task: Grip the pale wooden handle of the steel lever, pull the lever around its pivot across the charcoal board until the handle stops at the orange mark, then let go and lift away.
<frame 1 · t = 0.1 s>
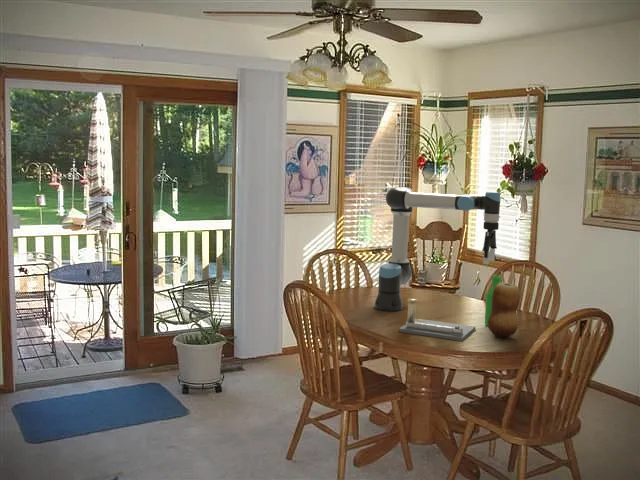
hand: (488, 262, 355), 28 cm above the table, tool pointing down, fingers open, 13 cm apart
lever board: (437, 330, 322), on the table
butternut squash: (502, 337, 314), on the table
lever: (434, 316, 315), point 8 cm above the table, hinge at 0.0°
bottle: (493, 326, 336), on the table
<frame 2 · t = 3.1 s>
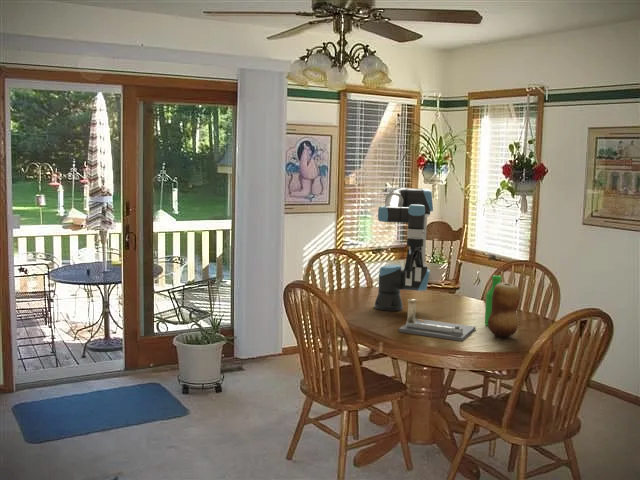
hand: (413, 283, 318), 22 cm above the table, tool pointing down, fingers open, 13 cm apart
nothing on the table moved.
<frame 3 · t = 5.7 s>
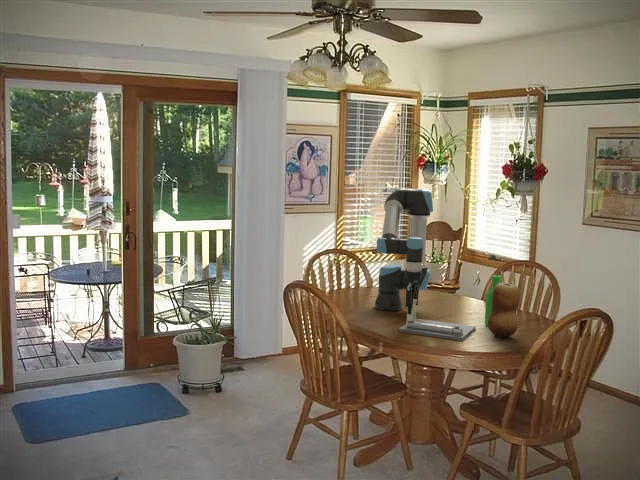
hand: (411, 319, 320), 5 cm above the table, tool pointing down, fingers closed on lever, 4 cm apart
lever: (434, 316, 315), point 8 cm above the table, hinge at 0.0°, touching gripper
everything else where it was.
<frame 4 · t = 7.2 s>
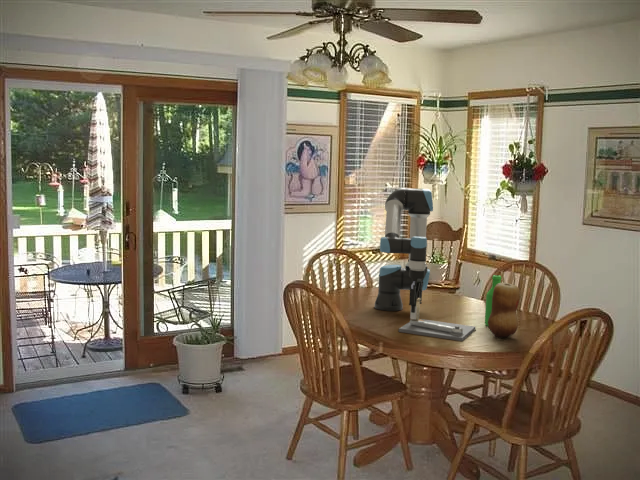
hand: (414, 318, 324), 5 cm above the table, tool pointing down, fingers closed on lever, 4 cm apart
lever: (436, 315, 317), point 8 cm above the table, hinge at 11.6°, touching gripper
everything else where it was.
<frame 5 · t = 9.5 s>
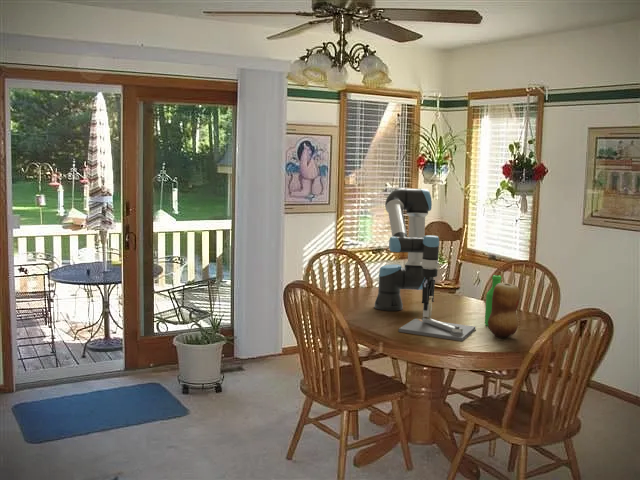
hand: (427, 315, 330), 5 cm above the table, tool pointing down, fingers closed on lever, 4 cm apart
lever: (442, 314, 320), point 8 cm above the table, hinge at 34.6°, touching gripper
everything else where it was.
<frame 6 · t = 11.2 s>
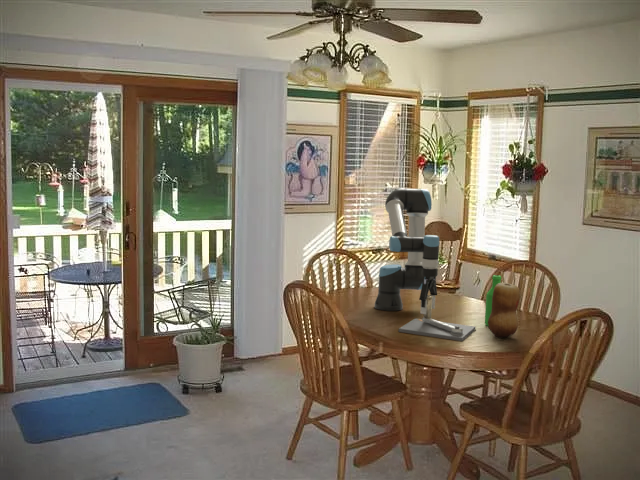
hand: (427, 311, 330), 7 cm above the table, tool pointing down, fingers open, 13 cm apart
lever: (442, 314, 320), point 8 cm above the table, hinge at 34.9°
everything else where it was.
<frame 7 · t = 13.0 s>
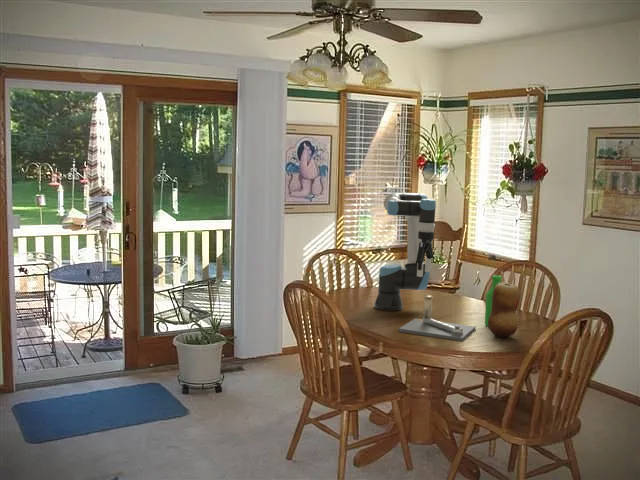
hand: (423, 274, 333), 24 cm above the table, tool pointing down, fingers open, 13 cm apart
nothing on the table moved.
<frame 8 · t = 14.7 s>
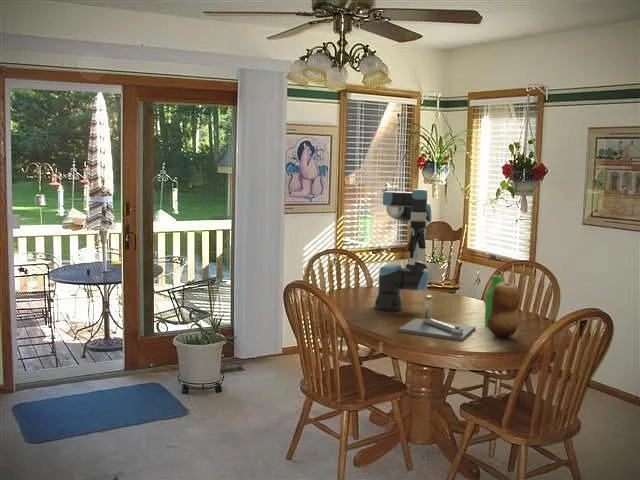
hand: (416, 263, 340), 29 cm above the table, tool pointing down, fingers open, 13 cm apart
nothing on the table moved.
at the end: lever at +35° (first picture: +0°); the gripper is holding nothing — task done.
